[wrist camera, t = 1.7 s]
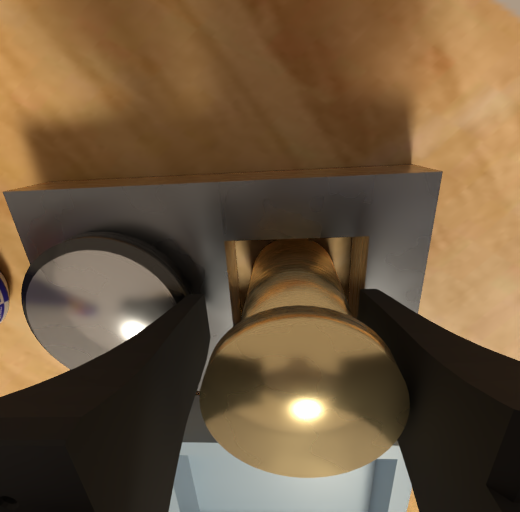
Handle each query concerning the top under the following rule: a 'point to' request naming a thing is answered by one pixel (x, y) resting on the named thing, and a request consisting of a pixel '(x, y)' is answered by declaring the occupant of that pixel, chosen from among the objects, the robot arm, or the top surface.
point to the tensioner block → (204, 244)
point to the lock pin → (302, 373)
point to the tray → (279, 481)
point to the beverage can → (3, 298)
